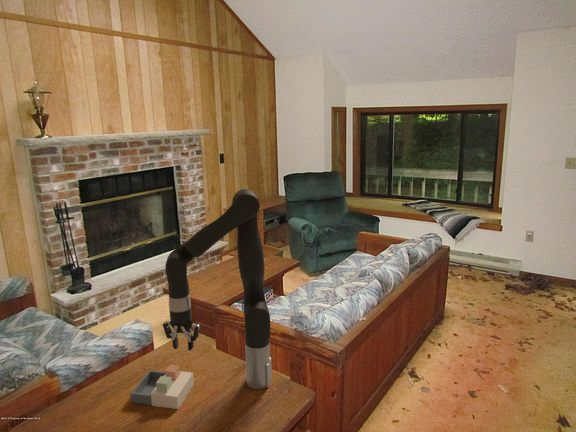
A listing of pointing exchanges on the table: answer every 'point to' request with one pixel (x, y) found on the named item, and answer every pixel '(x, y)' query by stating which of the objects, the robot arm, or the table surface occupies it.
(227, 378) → the table surface
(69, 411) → the table surface
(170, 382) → the sage green cube
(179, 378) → the cream rectangular block
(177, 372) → the orange cube
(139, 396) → the box
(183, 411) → the table surface
